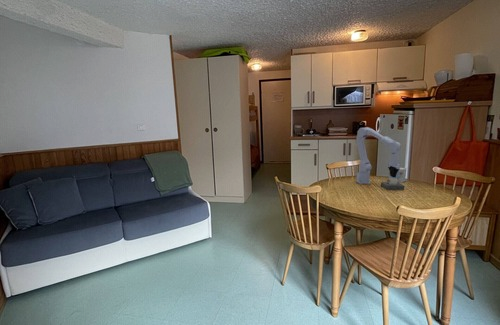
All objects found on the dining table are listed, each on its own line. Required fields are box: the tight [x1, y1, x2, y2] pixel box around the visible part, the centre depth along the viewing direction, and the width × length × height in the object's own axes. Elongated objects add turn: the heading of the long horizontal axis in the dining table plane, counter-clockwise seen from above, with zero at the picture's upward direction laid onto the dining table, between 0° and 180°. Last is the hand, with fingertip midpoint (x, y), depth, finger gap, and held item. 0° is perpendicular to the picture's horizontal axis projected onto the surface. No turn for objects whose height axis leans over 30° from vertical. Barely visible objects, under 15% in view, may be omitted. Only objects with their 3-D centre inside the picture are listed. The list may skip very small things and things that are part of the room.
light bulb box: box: [388, 167, 407, 183], centre depth 220 cm, size 11×7×11 cm, turn 43°
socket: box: [380, 181, 405, 191], centre depth 201 cm, size 12×11×3 cm
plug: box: [386, 177, 397, 185], centre depth 201 cm, size 6×4×6 cm, turn 86°
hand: (393, 176), depth 200 cm, fingers open, 2 cm apart
